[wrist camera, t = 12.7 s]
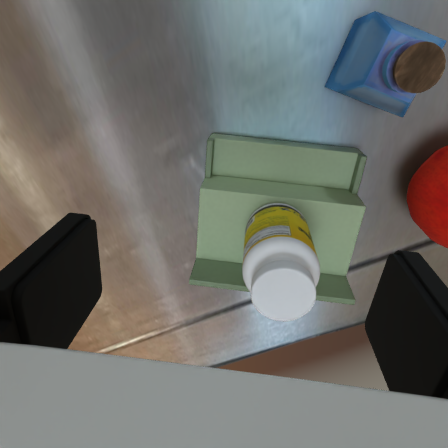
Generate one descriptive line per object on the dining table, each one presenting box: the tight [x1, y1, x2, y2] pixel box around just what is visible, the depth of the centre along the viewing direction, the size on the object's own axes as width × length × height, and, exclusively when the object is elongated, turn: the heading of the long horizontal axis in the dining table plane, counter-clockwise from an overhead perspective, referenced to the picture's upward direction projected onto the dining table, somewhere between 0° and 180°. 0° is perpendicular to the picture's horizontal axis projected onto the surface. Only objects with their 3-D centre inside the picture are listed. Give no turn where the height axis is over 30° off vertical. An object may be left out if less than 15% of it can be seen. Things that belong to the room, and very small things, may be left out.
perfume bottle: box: [325, 11, 446, 117], centre depth 28 cm, size 6×6×12 cm
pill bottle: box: [242, 203, 320, 321], centre depth 29 cm, size 6×6×11 cm
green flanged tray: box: [189, 133, 367, 305], centre depth 35 cm, size 13×16×11 cm
